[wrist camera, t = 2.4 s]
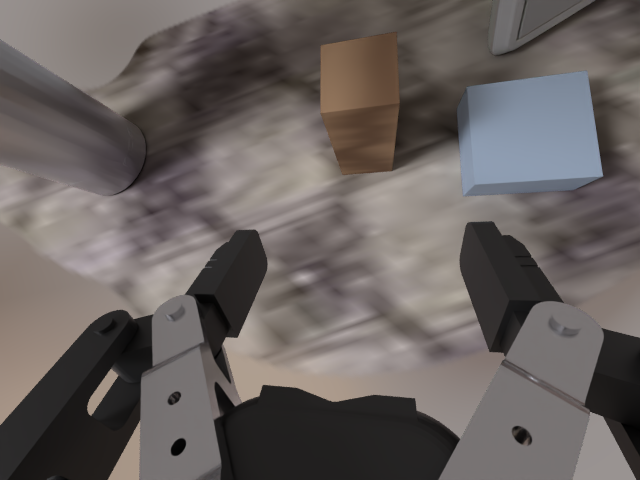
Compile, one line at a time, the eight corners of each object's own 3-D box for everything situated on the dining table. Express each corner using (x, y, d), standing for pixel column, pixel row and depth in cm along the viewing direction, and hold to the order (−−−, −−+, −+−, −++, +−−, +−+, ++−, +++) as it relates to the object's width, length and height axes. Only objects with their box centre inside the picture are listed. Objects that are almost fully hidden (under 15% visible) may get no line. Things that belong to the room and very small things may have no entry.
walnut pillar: (342, 174, 26) (320, 113, 16) (342, 130, 27) (320, 45, 17) (392, 171, 25) (399, 103, 15) (390, 124, 26) (396, 31, 16)
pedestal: (463, 196, 23) (474, 184, 21) (456, 109, 25) (466, 86, 22) (573, 190, 22) (602, 176, 19) (560, 97, 23) (587, 70, 20)
